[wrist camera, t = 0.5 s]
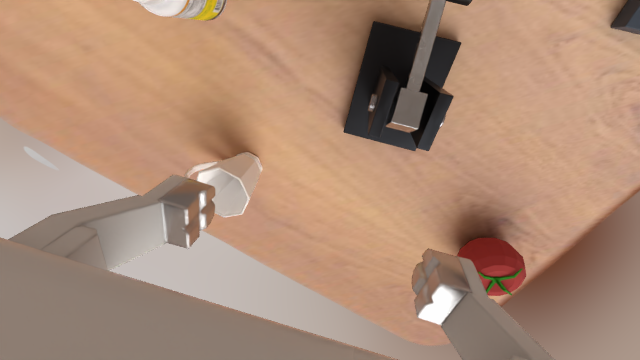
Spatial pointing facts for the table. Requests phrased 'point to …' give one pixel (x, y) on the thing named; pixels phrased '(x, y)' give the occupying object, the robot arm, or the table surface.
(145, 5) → the supplement bottle
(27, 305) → the robot arm
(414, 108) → the lever
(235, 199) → the cup
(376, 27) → the bracket
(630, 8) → the block
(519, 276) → the tomato
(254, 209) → the table surface
